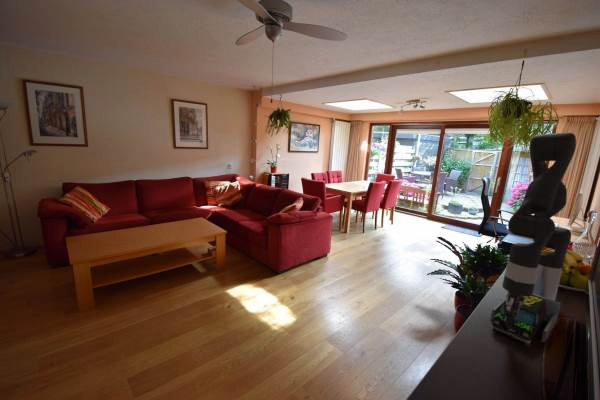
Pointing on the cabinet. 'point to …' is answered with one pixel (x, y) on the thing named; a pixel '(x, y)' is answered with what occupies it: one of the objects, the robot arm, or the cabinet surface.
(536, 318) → the toy van
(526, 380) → the cabinet surface
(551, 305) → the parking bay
